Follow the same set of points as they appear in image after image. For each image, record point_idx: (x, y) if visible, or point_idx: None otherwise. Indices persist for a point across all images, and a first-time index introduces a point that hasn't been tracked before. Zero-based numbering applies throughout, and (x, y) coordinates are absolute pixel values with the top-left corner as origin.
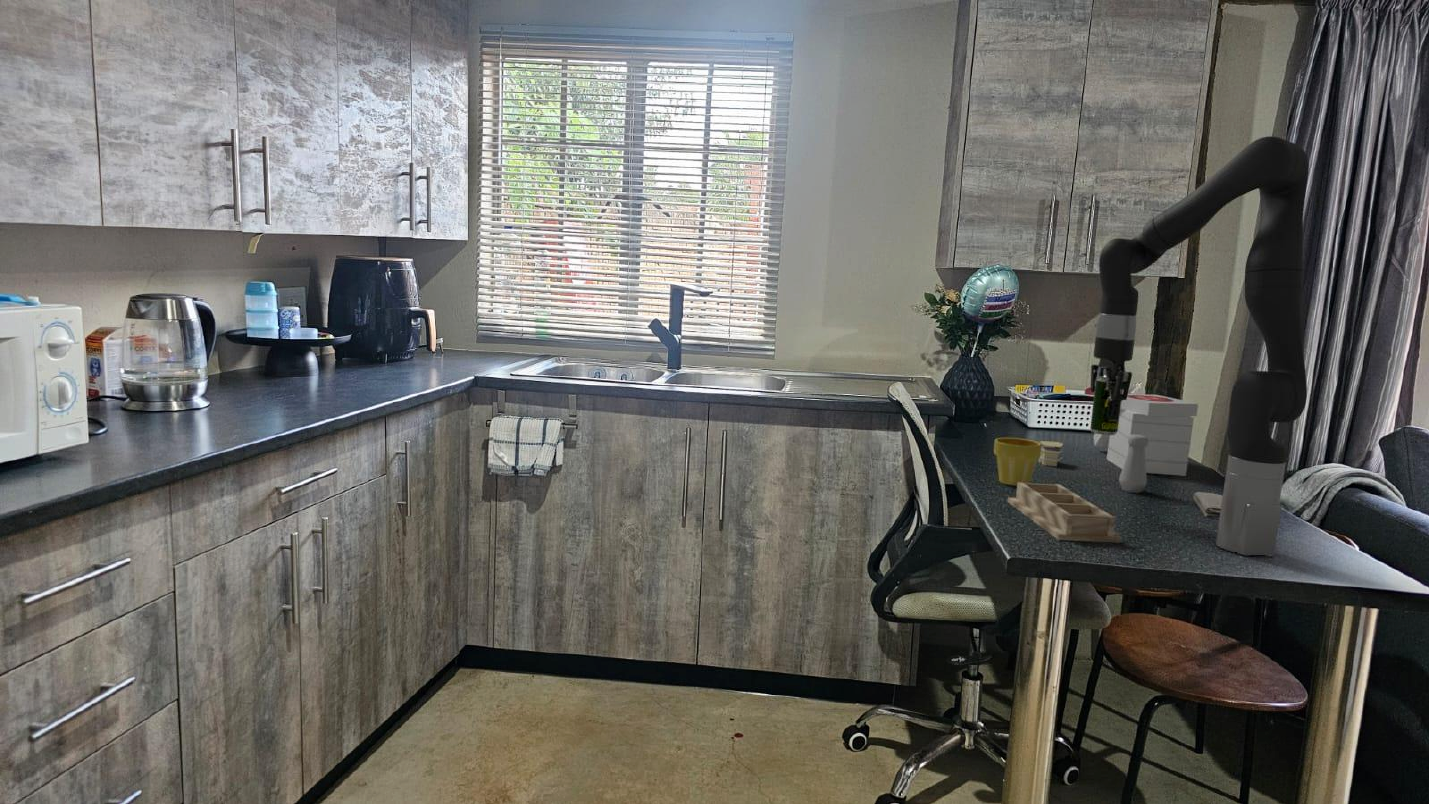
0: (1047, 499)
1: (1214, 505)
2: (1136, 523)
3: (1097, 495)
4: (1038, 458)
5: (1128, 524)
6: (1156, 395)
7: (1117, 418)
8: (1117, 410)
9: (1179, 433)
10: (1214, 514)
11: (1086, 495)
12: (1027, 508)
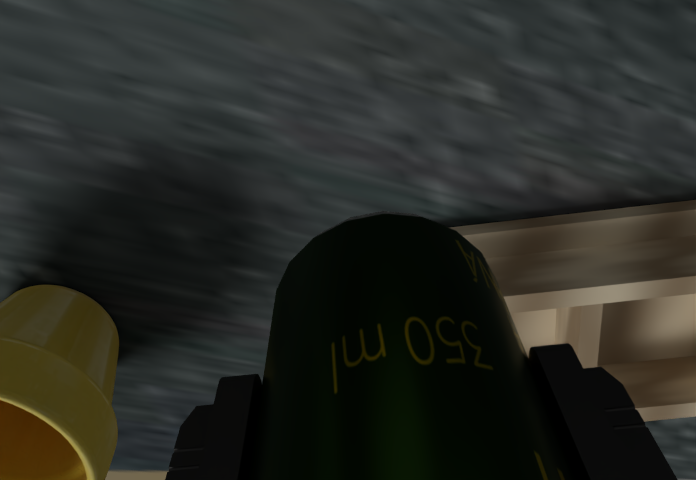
0: (682, 406)
1: None
2: (642, 3)
3: (118, 16)
4: (47, 351)
5: (661, 50)
6: None
7: (570, 346)
8: (644, 435)
9: None
10: None
11: (147, 77)
12: None
